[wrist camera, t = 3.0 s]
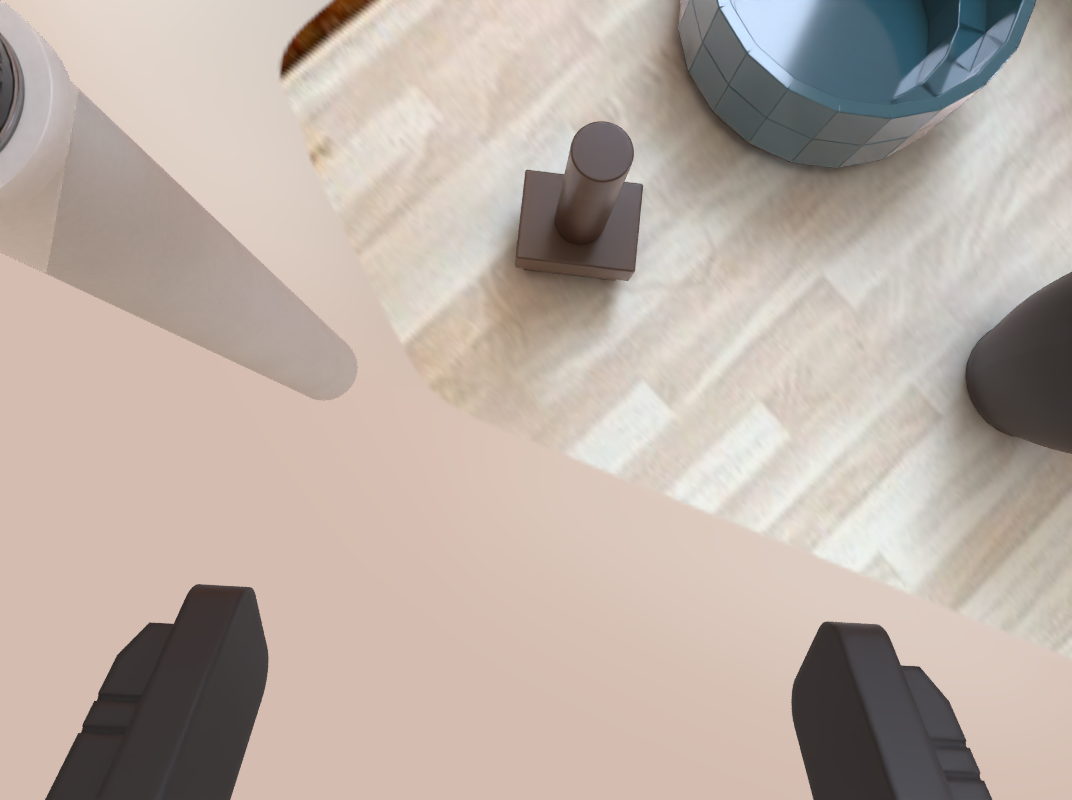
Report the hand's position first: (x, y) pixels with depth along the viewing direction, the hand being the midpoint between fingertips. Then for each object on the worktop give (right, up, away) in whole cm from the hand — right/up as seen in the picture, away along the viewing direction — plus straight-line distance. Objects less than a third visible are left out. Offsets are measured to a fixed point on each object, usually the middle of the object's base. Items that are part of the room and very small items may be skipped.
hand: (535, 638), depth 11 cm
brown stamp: (+2, +11, +26) cm, 28 cm away
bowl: (+14, +22, +28) cm, 38 cm away
